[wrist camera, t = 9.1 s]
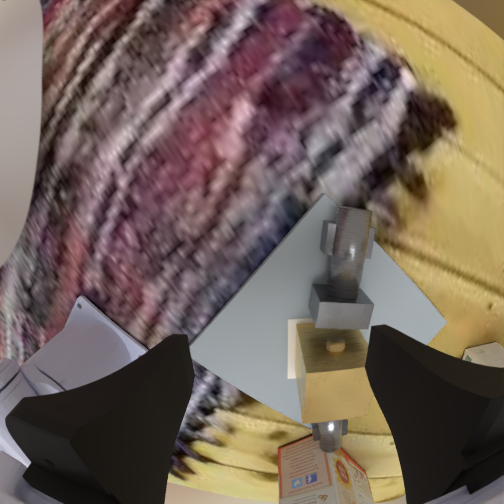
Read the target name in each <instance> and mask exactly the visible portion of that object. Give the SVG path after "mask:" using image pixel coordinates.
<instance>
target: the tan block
mask: <svg viewBox="0 0 504 504" xmlns="http://www.w3.org/2000/svg"><path fill="white" fill-rule="evenodd" d="M367 351H368V343H367V342H366V340H365V338H364V336H363V335H362V333H361V331H360V330H359V329H326V328H315V325H314V323H303V324H296V346H295V375H296V382H297V389H298V395H299V402H300V409H301V416H302V423H303V424H308V423H319V422H328V421H336V420H343V419H350V418H356V417H362V416H368V412H369V409H370V405H371V401H372V397H373V391H372V389H371V387H370V384H369V380H368V377H367V374H366V370H365V362H366V357H367Z"/></svg>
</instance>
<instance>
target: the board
mask: <svg viewBox="0 0 504 504" xmlns="http://www.w3.org/2000/svg"><path fill="white" fill-rule="evenodd" d="M337 209H338V205H337V204H336V203H335V202H334V201H333V200H331V199H330V198H329V197H328V196H327V195H326V194H325V193H322V194H321V195H320V197H319V198H318V199H317V200H316V201H315V202H314V204H313V205H312V206H311V207H310V208H309V209H308V211H307V212H306V213H305V214H304V215H303V216H302V217H301V219H300V220H299V221H298V222H297V223H296V224H295V226H294V227H293V228H292V229H291V230H290V231H289V233H288V234H287V235H286V236H285V237H284V238H283V239H282V241H281V242H280V243H279V244H278V245H277V246H276V248H275V249H274V250H273V251H272V252H271V253H270V254H269V256H268V257H267V258H266V259H265V260H264V261H263V262H262V264H261V265H260V266H259V267H258V268H257V269H256V270H255V272H254V273H253V274H252V275H251V276H250V277H249V278H248V280H247V281H246V282H245V283H244V284H243V285H242V286H241V287H240V289H239V290H238V291H237V292H236V293H235V294H234V295H233V297H232V298H231V299H230V300H229V301H228V302H227V303H226V304H225V306H224V307H223V308H222V309H221V310H220V311H219V312H218V313H217V315H216V316H215V317H214V318H213V319H212V320H211V321H210V322H209V323H208V325H207V326H206V327H205V328H204V329H203V330H202V331H201V332H200V334H199V335H198V336H197V337H196V338H195V339H194V340H193V341H192V342H191V344H190V345H189V348H190V353H191V358H192V359H194V360H195V361H196V362H198V363H199V364H201V365H202V366H204V367H205V368H207V369H208V370H210V371H211V372H213V373H214V374H216V375H217V376H219V377H220V378H222V379H224V380H225V381H227V382H228V383H230V384H231V385H233V386H235V387H236V388H238V389H240V390H241V391H243V392H244V393H246V394H248V395H249V396H251V397H253V398H255V399H256V400H258V401H260V402H261V403H263V404H265V405H267V406H268V407H270V408H272V409H274V410H276V411H278V412H279V413H281V414H283V415H285V416H287V417H289V418H291V419H292V420H294V421H296V422H298V423H300V424H302V425H304V426H306V427H308V428H310V429H312V428H311V423H308V424H303V423H302V416H301V409H300V402H299V395H298V389H297V382H296V375H295V346H296V324H303V323H314V322H313V319H312V317H311V314H310V311H309V308H308V305H309V299H310V292H311V286H312V284H326V285H327V281H328V275H329V268H330V262H331V255H324V254H323V252H322V251H321V250H320V242H321V234H322V226H323V220H330V221H336V217H337ZM360 288H361V289H362V290H363V291H364V293H365V294H366V295H367V296H368V297H369V298H370V300H371V301H372V302H373V303H374V308H373V312H372V316H371V320H370V324H369V328H368V329H359V330H360V331H361V333H362V335H363V336H364V338H365V340H366V342H367V343H368V344H369V338H370V331H371V326H375V325H383V324H386V325H388V326H390V327H393V328H395V329H397V330H399V331H400V332H402V333H404V334H406V335H408V336H410V337H412V338H414V339H415V340H417V341H419V342H421V343H423V344H425V345H427V344H428V343H429V342H430V341H431V340H432V339H433V337H434V336H435V335H436V334H437V333H438V332H439V331H440V330H441V329H442V327H443V326H444V325H445V324H446V323H447V321H446V320H445V319H444V318H443V316H442V315H441V314H440V313H439V312H438V310H437V309H436V308H435V307H434V306H433V304H432V303H431V302H430V301H429V300H428V298H427V297H426V296H425V295H424V294H423V293H422V292H421V290H420V289H419V288H418V287H417V286H416V285H415V284H414V282H413V281H412V280H411V279H410V278H409V277H408V276H407V275H406V274H405V273H404V271H403V270H402V269H401V268H400V267H399V266H398V265H397V264H396V263H395V262H394V261H393V260H392V259H391V258H390V256H389V255H388V254H387V253H386V252H385V251H384V250H383V249H382V248H381V247H380V246H379V245H378V244H377V243H376V242H375V241H374V243H373V249H372V255H371V259H366V258H365V262H364V268H363V273H362V278H361V284H360ZM373 395H374V393H373Z"/></svg>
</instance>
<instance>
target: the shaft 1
mask: <svg viewBox="0 0 504 504" xmlns="http://www.w3.org/2000/svg"><path fill="white" fill-rule="evenodd" d="M371 216H372V211H370V210H366V209H361V208H354V207H347V206H338V209H337V217H336V221H330V220H323V226H322V234H321V242H320V250H321V251H322V252H323V254H324V255H331V262H330V268H329V275H328V281H327V285H326V284H312V286H311V292H310V299H309V305H308V308H309V311H310V314H311V317H312V319H313V322H314V325H315V328H326V329H368V328H369V324H370V320H371V316H372V312H373V308H374V303H373V302H372V301H371V300H370V298H369V297H368V296H367V295H366V294H365V293H364V291H363V290H362V289H361V288H360V284H361V278H362V273H363V268H364V262H365V258H366V259H371V255H372V249H373V243H374V236H375V230H376V229H375V228H373V227H371V226H370V224H371Z"/></svg>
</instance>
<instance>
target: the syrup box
mask: <svg viewBox="0 0 504 504" xmlns="http://www.w3.org/2000/svg"><path fill="white" fill-rule="evenodd" d="M462 360H465V361H469V362H472V363H477V364H481V365H486V366H492V367H500V368H504V348H503V347H502V346H501V345H500V344H499V343H497V342H494V343H489V344H484V345H480V346H476V347H471V348H467V349H465V351H464V356H463V359H462Z"/></svg>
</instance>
